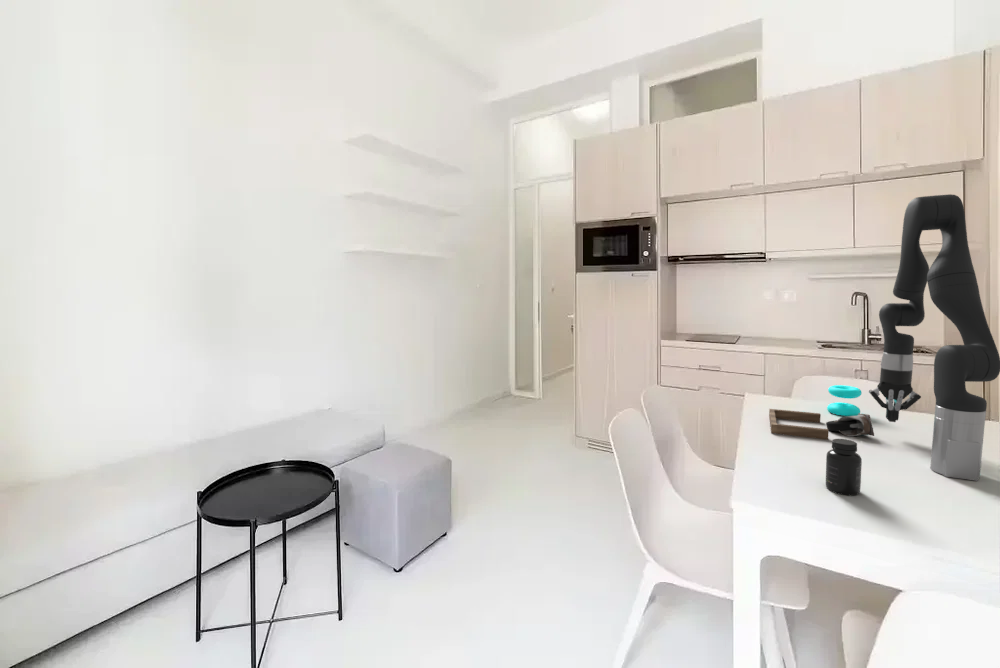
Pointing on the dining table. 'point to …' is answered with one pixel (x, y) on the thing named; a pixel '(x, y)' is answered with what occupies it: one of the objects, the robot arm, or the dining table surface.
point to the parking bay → (796, 430)
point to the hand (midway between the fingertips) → (891, 421)
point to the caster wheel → (852, 425)
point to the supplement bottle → (843, 467)
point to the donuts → (844, 408)
